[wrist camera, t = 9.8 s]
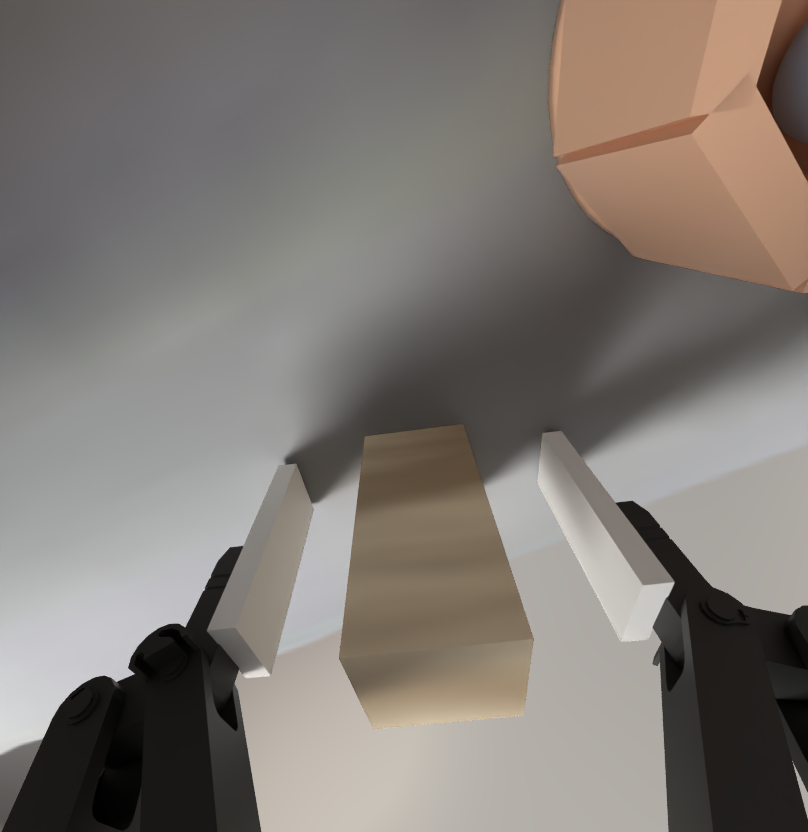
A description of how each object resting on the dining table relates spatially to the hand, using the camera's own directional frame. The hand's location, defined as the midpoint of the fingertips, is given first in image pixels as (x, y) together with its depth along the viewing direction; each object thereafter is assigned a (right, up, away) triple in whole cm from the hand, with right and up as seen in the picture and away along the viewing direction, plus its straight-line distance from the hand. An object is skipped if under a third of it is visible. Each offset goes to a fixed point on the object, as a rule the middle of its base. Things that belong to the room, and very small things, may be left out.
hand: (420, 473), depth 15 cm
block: (0, 0, 0) cm, 0 cm away
